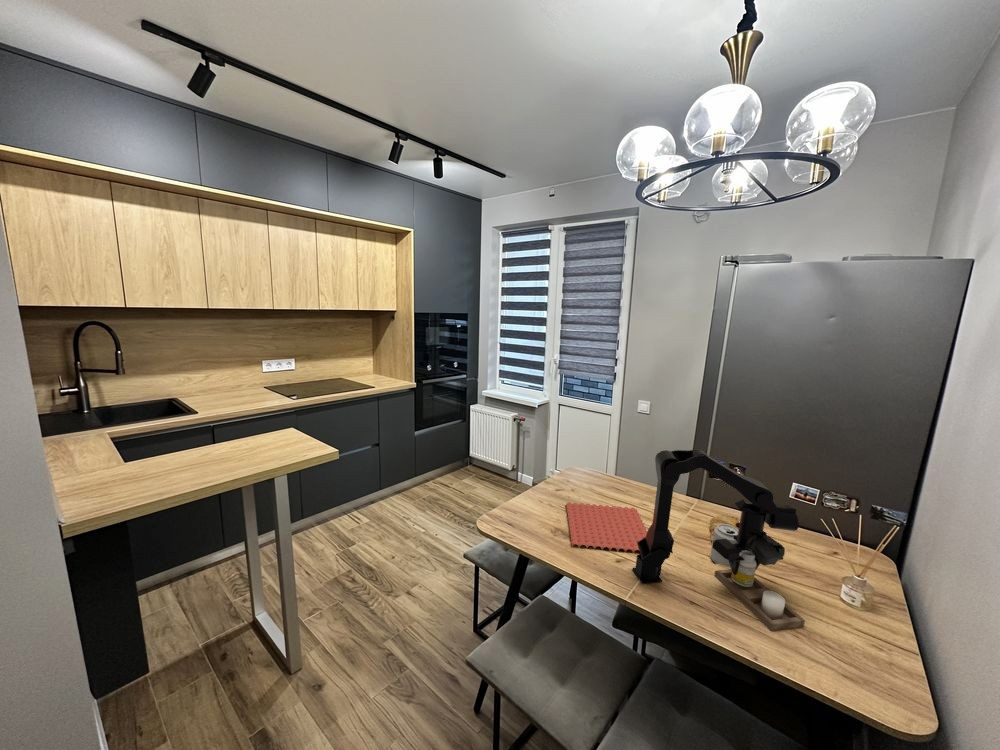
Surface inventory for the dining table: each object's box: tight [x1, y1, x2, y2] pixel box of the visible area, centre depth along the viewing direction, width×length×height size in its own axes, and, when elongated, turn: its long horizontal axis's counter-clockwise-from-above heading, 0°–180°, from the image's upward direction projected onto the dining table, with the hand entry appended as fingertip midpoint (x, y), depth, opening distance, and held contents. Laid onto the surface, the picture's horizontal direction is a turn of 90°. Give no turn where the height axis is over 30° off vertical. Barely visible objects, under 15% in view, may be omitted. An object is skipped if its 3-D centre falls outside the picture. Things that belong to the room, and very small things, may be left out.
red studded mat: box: [565, 501, 648, 554], centre depth 142 cm, size 28×28×2 cm
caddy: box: [714, 568, 806, 632], centre depth 108 cm, size 10×20×3 cm, turn 10°
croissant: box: [709, 514, 740, 542], centre depth 140 cm, size 21×10×8 cm, turn 132°
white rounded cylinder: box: [760, 590, 786, 620], centre depth 102 cm, size 5×5×5 cm
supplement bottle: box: [731, 551, 757, 587], centre depth 111 cm, size 5×5×10 cm
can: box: [709, 524, 738, 567], centre depth 124 cm, size 8×8×12 cm
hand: (742, 573), depth 112 cm, fingers closed on supplement bottle, 5 cm apart
